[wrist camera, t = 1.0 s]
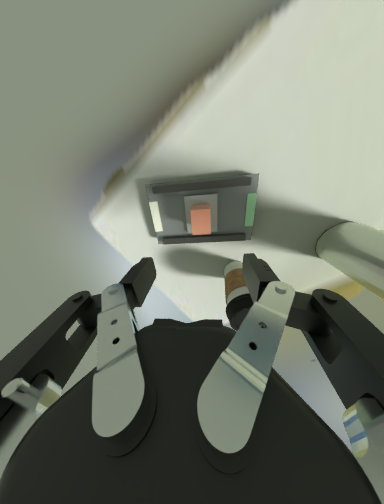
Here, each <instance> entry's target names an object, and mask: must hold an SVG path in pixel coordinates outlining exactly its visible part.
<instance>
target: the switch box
mask: <svg viewBox="0 0 384 504" xmlns="http://www.w3.org/2000/svg"><path fill="white" fill-rule="evenodd" d="M258 179H259V174H250V175H239V176H229V177H219V178H209V179H199V180H189V181H179V182H169V183H159V184H149V185H146V190H147V194H148V199H149V205H150V209H151V214H152V218H153V223H154V227H155V232H156V235H157V239H158V244H181V243H202V242H223V241H243V240H251V235H252V227H253V222H254V214H255V206H256V198H257V187H258ZM205 194H217V232H211V234H202V235H193V234H192V233H188V230H187V221H186V212H185V202H184V196H194V195H205Z"/></svg>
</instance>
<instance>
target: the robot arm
mask: <svg viewBox="0 0 384 504" xmlns="http://www.w3.org/2000/svg"><path fill="white" fill-rule="evenodd" d="M316 252H317V255H318V256H319V257H320V258H322V259H323V260H325V261H326V262H328V263H329V264H331V265H332V266H334V267H335V268H337V269H338V270H340V271H341V272H343V273H344V274H346V275H347V276H349V277H350V278H352V279H353V280H355V281H356V282H358V283H359V284H360V285H362V286H363V287H365V288H366V289H368V290H369V291H371V292H372V293H374V294H375V295H377V296H378V297H380V298H381V299H383V300H384V231H383V230H380V229H377V228H373V227H369V226H366V225H362V224H359V223H354V222H346V223H341V224H338V225H336V226H334V227H332V228H330V229H329V230H327V231H326V232H325V233H324V234H323V235H322V236H321V237H320V239H319V240H318V242H317V245H316ZM242 274H243V278H244V280H245V283H246V285H247V288H248V290H249V293H250V296H251V298H252V301H253V303H254V304H253V306H252V307H251V309H250V311H249V312H248V314H247V316H246V317H245V319H244V321H243V322H242V324H241V326H240V327H239V329H238V331H237V332H236V331H235V330H233V329H231V328H229V327H226V326H223V324H222V320H208V319H205V320H200V321H196V322H191V323H183V322H180V321H176V320H173V319H155V320H154V323H153V324H152V325H149V326H147V327H144V328H143V329H141V330H140V329H139V326H138V323H137V319H136V316H135V312H134V310H133V309H134V308H135V307H141V306H142V304H143V302H144V300H145V298H146V296H147V294H148V292H149V290H150V288H151V286H152V284H153V282H154V280H155V278H156V269H155V265H154V262H153V259H152V257H146V258H142V259H141V261H140V262H139V263H137V264H135V265H134V266H133V267H132V268H131V269H130V271H128V273H127V274H126V275H125V276H124V277H123V279H122V280H121V281H120V282H119V283H118V284H113V285H111V286H109V287H107V288H106V289H105V290H104V291H103V292H102V294H98V295H94V296H91V294H90V292H89V291H82V292H78V293H76V294H74V295H72V296H71V297H69V298H68V299H67V300H66V301H65V302H64V303H63V304H62V305H61V306H60V307H58V308H57V309H56V311H54V312H53V313H52V314H51V315H50V316H49V317H48V318H47V319H46V320H44V321H43V322H42V323H41V324H40V325H39V326H38V327H37V328H36V329H35V330H33V331H32V332H31V333H30V334H29V335H28V336H27V337H26V338H25V339H24V340H23V341H21V342H20V343H19V344H18V345H17V346H16V347H15V348H14V349H13V350H12V351H11V352H10V353H8V354H7V355H6V356H5V357H4V358H3V359H2V360H1V361H0V504H384V334H383V333H382V332H381V331H379V329H377V328H376V327H375V326H374V325H373V324H372V323H371V322H370V321H369V320H368V319H367V318H365V317H364V316H363V315H362V314H361V313H360V312H359V311H358V310H357V309H356V308H355V307H353V306H352V305H351V304H350V303H349V302H348V301H347V300H346V299H345V298H344V297H342V296H341V295H339V294H337V293H335V292H333V291H330V290H326V289H316V290H314V291H313V293H312V295H310V294H305V293H300V292H296V291H295V290H294V288H293V287H292V286H290V285H289V284H287V283H284V282H281V281H280V280H279V279H278V277H277V276H276V275H275V273H274V272H273V271H272V269H271V268H270V267H269V265H268V264H267V263H266V262H265V261H263V260H262V259H257V257H256V256H255V254H254V253H250V254H244V256H243V266H242ZM76 320H77V321H78V323H79V324H80V326H79V327H78V328H77V329H76V331H75V332H74V333H73V334H72V335H71V337H70V338H69V339H68V340H66V338H65V336H66V332H67V331H68V329H69V328H70V327H71V326H72V325H73V324H74V322H75V321H76ZM285 325H286V326H290V327H293V328H297V329H300V330H301V331H302V333H303V334H304V336H305V338H306V340H307V341H308V343H309V345H310V347H311V348H312V350H313V352H314V354H315V355H316V357H317V359H318V361H319V362H320V364H321V366H322V368H323V369H324V371H325V373H326V375H327V376H328V378H329V380H330V381H331V383H332V385H333V387H334V388H335V390H336V392H337V394H338V396H339V397H340V399H341V401H342V403H343V404H344V406H345V408H346V410H345V412H344V413H343V424H344V427H345V430H346V432H347V435H348V437H349V440H350V443H351V448H352V453H351V451H350V450H349V449H348V447H347V446H346V445H345V444H344V443H343V441H342V440H341V439H340V438H339V437H338V436H337V435H336V434H335V432H334V431H333V430H332V429H331V428H330V427H329V426H328V425H327V424H326V423H325V422H324V421H323V420H322V419H321V418H320V417H319V416H318V415H317V414H316V413H315V411H314V410H313V409H312V408H311V407H310V406H309V405H308V404H307V403H306V402H305V401H304V400H303V399H302V398H301V397H300V396H299V395H298V394H297V393H296V392H295V391H294V390H293V388H291V386H290V385H289V384H288V383H286V381H285V380H284V379H283V378H282V377H281V376H280V375H279V374H278V373H277V372H276V371H275V370H274V369H273V368H272V364H273V362H274V358H275V355H276V352H277V349H278V346H279V343H280V340H281V337H282V333H283V330H284V327H285ZM96 335H97V367H95V368H94V369H93V370H92V371H90V372H89V373H88V374H87V375H86V376H85V377H83V378H82V379H81V380H80V381H79V382H78V383H76V384H75V385H74V386H73V387H72V388H71V389H70V390H68V391H67V392H66V393H65V394H63V395H62V396H61V397H60V395H61V390H62V389H63V387H64V386H65V384H66V383H67V381H68V380H69V378H70V376H71V375H72V373H73V372H74V370H75V369H76V367H77V365H78V364H79V362H80V361H81V359H82V358H83V356H84V355H85V353H86V351H87V350H88V348H89V347H90V345H91V344H92V342H93V341H94V339H95V337H96Z"/></svg>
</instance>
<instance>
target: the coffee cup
mask: <svg viewBox="0 0 384 504" xmlns="http://www.w3.org/2000/svg"><path fill="white" fill-rule="evenodd" d="M242 266H243V263H242V262H239V261H233V262H230V263H229V264H227V265H226V267H225V269H224V277H225V294H226V304H227V307H226V314H227V317H228V319H229V322H230V325H231V327H232V328H233V329H234V330H236V331H238V329H239V327H240V326H241V324H242V322H243V321H244V319H245V317H246V316H247V314H248V312H249V311H250V309H251V307H252V306H253V304H254V303H253V301H252V298H251V296H250V293H249V290H248V288H247V285H246V283H245V280H244V278H243V274H242Z"/></svg>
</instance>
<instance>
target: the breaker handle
mask: <svg viewBox="0 0 384 504" xmlns="http://www.w3.org/2000/svg"><path fill="white" fill-rule="evenodd" d="M184 202H185V212H186V221H187V230H188V233H192V234H193V235H202V234H211V232H217V194H205V195H194V196H184Z"/></svg>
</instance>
